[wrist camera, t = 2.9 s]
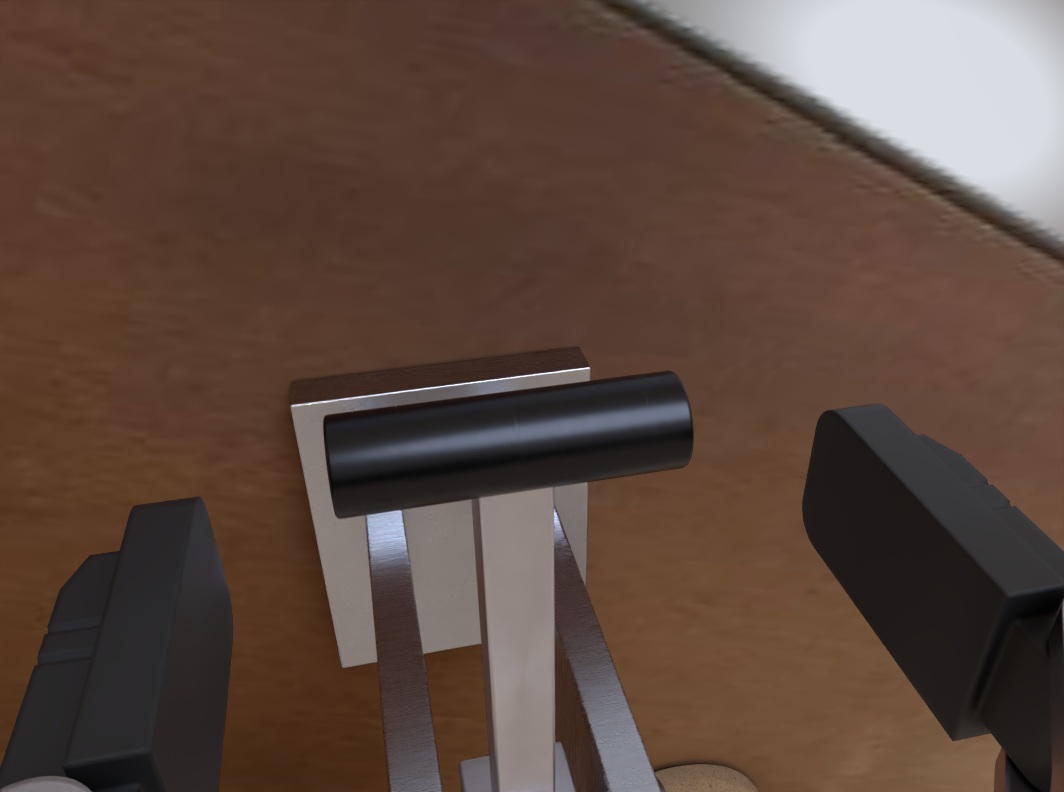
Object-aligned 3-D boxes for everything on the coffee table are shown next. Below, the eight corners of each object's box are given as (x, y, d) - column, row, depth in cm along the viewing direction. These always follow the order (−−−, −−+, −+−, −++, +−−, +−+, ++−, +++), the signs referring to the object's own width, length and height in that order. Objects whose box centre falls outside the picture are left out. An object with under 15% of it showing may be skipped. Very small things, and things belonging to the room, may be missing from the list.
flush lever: (321, 377, 13) (323, 478, 11) (653, 337, 14) (712, 422, 12) (402, 852, 19) (413, 969, 17) (622, 805, 20) (656, 911, 18)
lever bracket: (290, 381, 24) (277, 823, 13) (579, 346, 25) (780, 720, 14) (340, 640, 29) (359, 1102, 18) (576, 600, 30) (720, 1008, 20)
